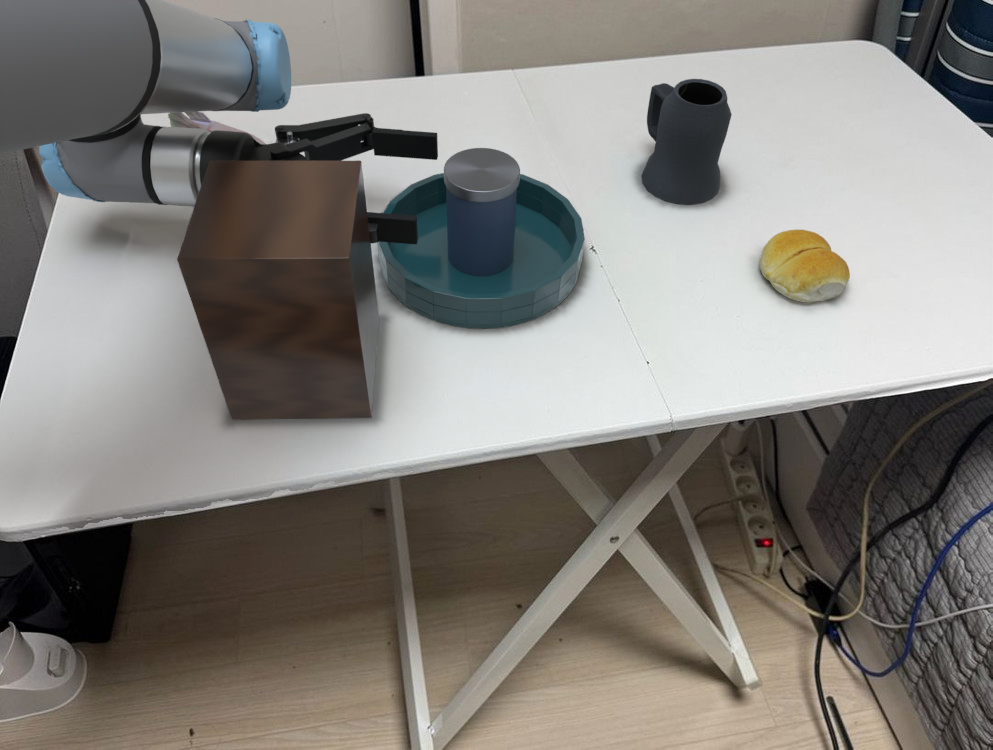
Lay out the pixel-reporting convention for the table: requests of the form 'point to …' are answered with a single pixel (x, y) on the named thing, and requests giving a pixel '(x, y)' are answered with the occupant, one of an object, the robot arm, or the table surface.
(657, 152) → the mug
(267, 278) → the brown wooden block
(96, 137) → the robot arm
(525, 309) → the round teal tray
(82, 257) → the table surface
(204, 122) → the fish
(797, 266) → the bread roll
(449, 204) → the tin
